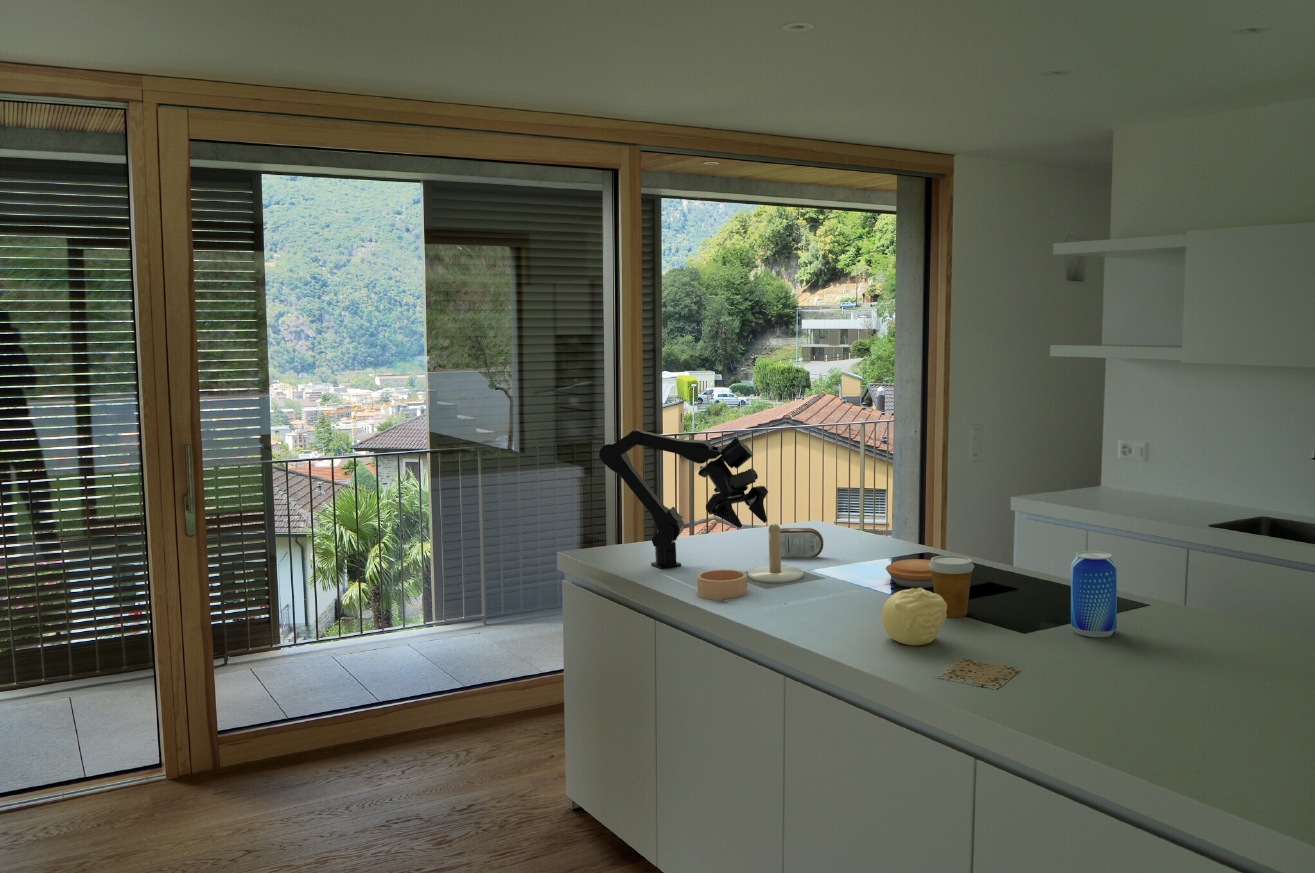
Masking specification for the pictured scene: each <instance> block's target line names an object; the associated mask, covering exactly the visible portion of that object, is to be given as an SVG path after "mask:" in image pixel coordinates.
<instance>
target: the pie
mask: <svg viewBox="0 0 1315 873" xmlns="http://www.w3.org/2000/svg"><path fill="white" fill-rule="evenodd" d="M930 561H931V559H922V558H921V559H919V558H918V559H917V558H916V559H915V558H914V559H913V558H911V559H908V558H907V559H901V560H896V561H893V562H892V563H891V564H888V565H886V567H885V571H887V573H888V574H889V576H890V577H891V579H892V580H893V582H894V584H896V585H898V586H901V587H905V588H910V589H912V588H914V589H918V588H923V589H927V588H933V580H932V574H931V570H930V567H929V564H930Z"/></svg>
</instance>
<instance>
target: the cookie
mask: <svg viewBox="0 0 1315 873" xmlns="http://www.w3.org/2000/svg"><path fill="white" fill-rule="evenodd" d="M954 662H955V663H953V662H952V663H951V664H953V665H951V666H953V667H949V668H951V669H947V671H951V672H948V673H949V674H948V673H944V674H943V675H946V676H943V675H942V677H948V679H954V680H960V679H961V680H962V679H963V680H964V681H963V682H965V681H966V680H968V679H969V680H970V679H971V680H974V681H966V682H973V683H972V684H978V685H981V686H1001V684H1002V682H1004V681H1006V680H1008V679H1010V677H1013V675H1015V676H1016V675H1017V674H1016V673H1018V672H1019V673H1021V669H1017V668H1014V667H1013V666H1007V665H1000V664H993V663H992V664H991V663H986V662H981V661H979V660H978V661H976V660H973V659H966V658H963V659H961V658H958V659H956V660H955V661H954ZM956 662H957V663H956ZM972 671H973V672H972ZM974 671H975V672H974ZM964 673H965V674H964ZM969 673H971V674H969ZM973 673H975V674H973ZM1019 673H1018V674H1019ZM949 675H950V676H949ZM967 675H974V676H967ZM938 677H941V676H938ZM959 677H960V678H959ZM966 677H969V678H966ZM971 677H972V678H971ZM1013 678H1014V677H1013ZM965 679H966V680H965ZM1010 680H1011V679H1010ZM1000 682H1001V683H1000ZM996 684H999V685H996ZM993 688H995V687H993Z"/></svg>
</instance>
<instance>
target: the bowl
mask: <svg viewBox="0 0 1315 873" xmlns="http://www.w3.org/2000/svg"><path fill="white" fill-rule="evenodd" d="M744 572H745V571H741V570H736V569H712V570H707V571H706V570H705V571H702V572H699V573H698V574H697V575H696V586H697V587H696V589H697V592H696V593H697V596H698V597H699V596H700V598H702V599H706V600H711V601H726V600H727V599H732V598H737V597H741V596H744V595H746V594H747V593H748V590H749V587H748V582H747V574H746V573H744Z"/></svg>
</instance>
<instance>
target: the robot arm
mask: <svg viewBox="0 0 1315 873" xmlns="http://www.w3.org/2000/svg"><path fill="white" fill-rule="evenodd" d="M636 446H642V447H645V448H646V447H647V448H651V449H656V450H659V451H664V452H667V453H668V452H669V453H671V454H676V455H679V456H681V457H683V458H685V459H687V460H688V461H691V462H694V463H696V464H698V465H700V466H699V470H698V473H697V474H698V476H700V477H702V478H704V479H705V478H706V477H708V478H709V479H710V481H711V482H712V484H713V486H714V487H715V488H714V489H713V491H714V493H712V496H711V497H710V498H709V499H708V501H707V502H706V503H705V510H706V512H707V513H708V515H709V516H710V515H712V516H713V517H717V518H720V519H721V520H724V521H726V522H728V523H730V524H731V525H733V526H735V527H737V528H738V529H741V528H742V527H743V524H742V522H741V520H740V518H739V516H738V515H737V514H736V511H735V509H733V504H739V503H745V505H746V506H747V507H748V510H749V511H750V512H751V513H752V514H753V515H755V516H756V517H757V518H758V519H759V520H760V521H761V522H763V523H764V524H766V523H767V522H768V517H767V513H766V510H765V505H764V501H765V500H764V499H765V498H766V497H767V495H768V493H769V490H768V489H767V488H766V486H765V485H758V486H752V487H751V488H750V490H749V491H748V492H747V493H745V492H746V491H747V490H748V489H749V485H751V484H754V483H756V482H757V480H758V478H759V477H758V476H759V475H758V473H757V471H756V470H755V469H754V467H753V468H748V469H747V470H745V471H741V472H739V473H737V474H736V473H735V474H733V473H732V471H731V470H730V469H733V468H735V469H739V468H740V467H742V465H744V464H745V463H746V462H747V461H749V460H750V459H752V458H753V456H754V453H753V451H752V450H751V448H749V446H748V444H745V442H743V441H742V440H740V439H739V437H737V436H736V437H734V438H733V439H732V440H731V442H730V443H728V444H726V446H725V447H724V448H722V447H719V446H715V445H712V443H711V442H709V441H708V440H703V439H702V440H701V439H680V438H675V437H671V436H667V435H661V434H659V433H655V432H654V433H653V432H649V431H645V430H643V429H641V428H639V429H638V428H636V429H634V430H632V431H630V432H629V433H628V434H627V435H625V436H624V437H622V438H620V439H619V440H617V441H611V442H609V443H607V444H605V445H603V446H602V447H601V448H600V450H599V454H598V457H599V459H600V461H601V462H602V463H603V464H604V465H605V466H606V467H607V468H608V469H609V470H611V471H612V472H614V473H616V474H617V475H618V476H620V478H621V479H622V480H623V481H624V483H625V485H627V487H628V488H629V489H630V490H631V491H632V492H633V494H634V495H635V496H636V497H637V499H638V500H639V501H640V503H641V504H642V506H644V508H645V509H646V511H648V513H649V514H650V515H651V518H652V521H653V523H654V525H655V528H656V529H657V531H658V532H657V533H656V534H655V535H654V536H653V537H652V538H651V542H652V544H653V545H652V546H653V547H654V548H655V552H654V554H655V561H654V562H653V561H652V562H650V565H652V566H654V567H657V568H658V569H667V568H673V567H679V566H680V567H681V566H682V563H681V562H679V561H677V547H676V545H677V544H676V541H677V539H678V537H679V536H680V535H681V534H682V533H683V531H684V528H685V523H684V521H683V518H684V516H682V515H680V513H679V512H678V511H677V508H676V507H675V506H672V507H671V508H668V507H667V506H665V505H664V504H663V502H662V501H661V500H660V499H659V497H658V496H657V495H656V494H655V492H654V491H653V490H652V488H651V487H650V486H649V485H648V484H647V482H646V481H645V479H643V477H642V476H641V474H639V472H638V471H637V470H636V468H635V467H633V464H632V461H631V459H630V456H629V454H628V452H629V451H630V450H632V449H633V448H635V447H636ZM709 460H710V461H709ZM708 461H709V462H708ZM706 462H708V463H707V464H706V465H703V466H702V465H701V464H704V463H706ZM729 468H730V469H729Z"/></svg>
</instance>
